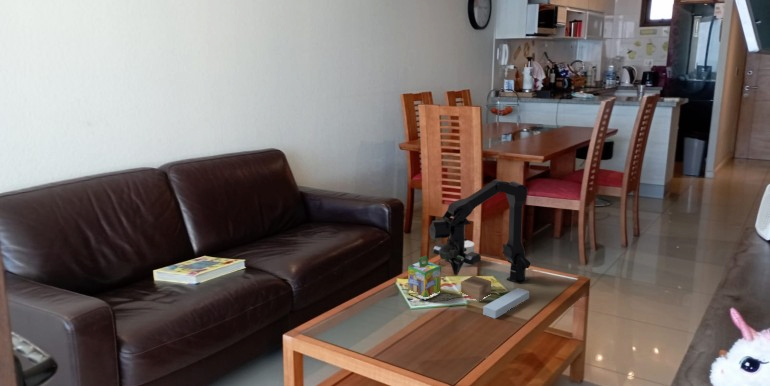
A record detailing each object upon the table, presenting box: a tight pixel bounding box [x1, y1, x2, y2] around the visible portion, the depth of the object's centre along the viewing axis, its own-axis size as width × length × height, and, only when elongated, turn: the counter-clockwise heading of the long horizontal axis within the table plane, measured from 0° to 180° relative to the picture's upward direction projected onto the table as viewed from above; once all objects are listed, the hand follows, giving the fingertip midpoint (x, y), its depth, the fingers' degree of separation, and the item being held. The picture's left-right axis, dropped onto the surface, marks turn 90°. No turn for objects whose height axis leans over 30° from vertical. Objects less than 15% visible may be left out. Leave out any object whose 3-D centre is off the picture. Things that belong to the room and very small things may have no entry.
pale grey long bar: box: [482, 287, 530, 319], centre depth 226 cm, size 22×5×3 cm, turn 136°
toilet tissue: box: [444, 239, 475, 268], centre depth 268 cm, size 9×13×9 cm
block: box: [460, 275, 492, 301], centre depth 235 cm, size 8×8×6 cm
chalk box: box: [407, 255, 442, 297], centre depth 235 cm, size 9×9×15 cm
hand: (456, 274), depth 241 cm, fingers closed
